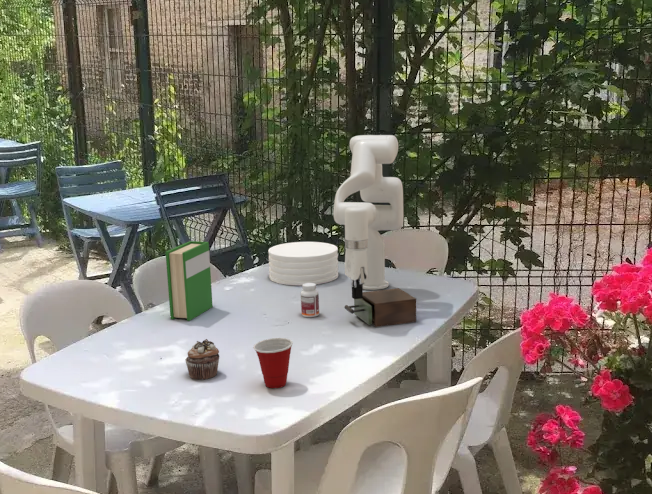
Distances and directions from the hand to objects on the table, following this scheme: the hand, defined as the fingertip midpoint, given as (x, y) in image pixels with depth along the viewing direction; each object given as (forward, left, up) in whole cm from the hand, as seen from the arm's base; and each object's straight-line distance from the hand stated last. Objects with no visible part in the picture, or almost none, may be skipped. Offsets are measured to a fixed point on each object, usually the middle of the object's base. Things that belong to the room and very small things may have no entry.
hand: (357, 298), depth 285 cm
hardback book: (-33, -50, -9) cm, 61 cm away
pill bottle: (-14, -12, -9) cm, 21 cm away
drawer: (0, +6, -8) cm, 10 cm away
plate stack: (-66, +2, -9) cm, 67 cm away
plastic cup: (+44, -41, -9) cm, 61 cm away
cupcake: (+29, -58, -9) cm, 65 cm away
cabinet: (0, +11, -9) cm, 14 cm away
